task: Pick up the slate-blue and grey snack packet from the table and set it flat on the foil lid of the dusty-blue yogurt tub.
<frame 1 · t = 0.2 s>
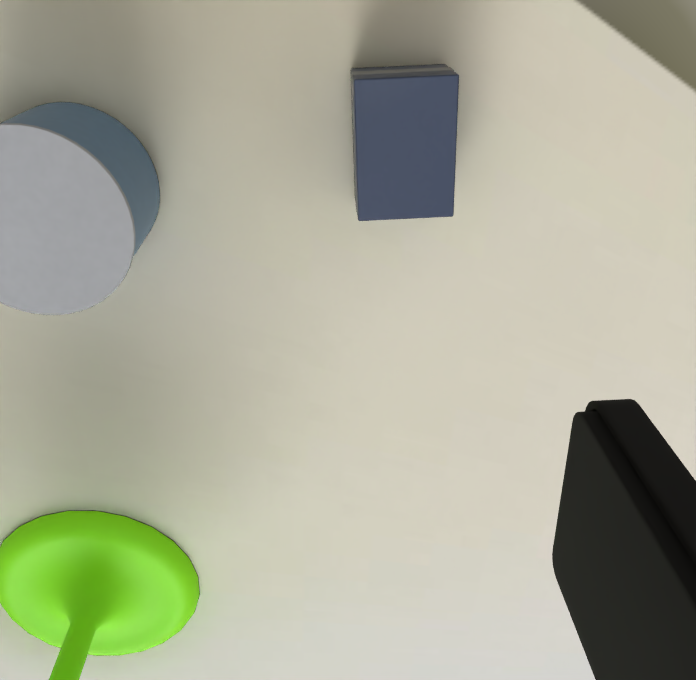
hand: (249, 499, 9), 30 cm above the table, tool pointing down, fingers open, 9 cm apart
yogurt: (78, 185, 37), on the table
packet: (398, 134, 37), on the table
wineglass: (98, 583, 53), on the table
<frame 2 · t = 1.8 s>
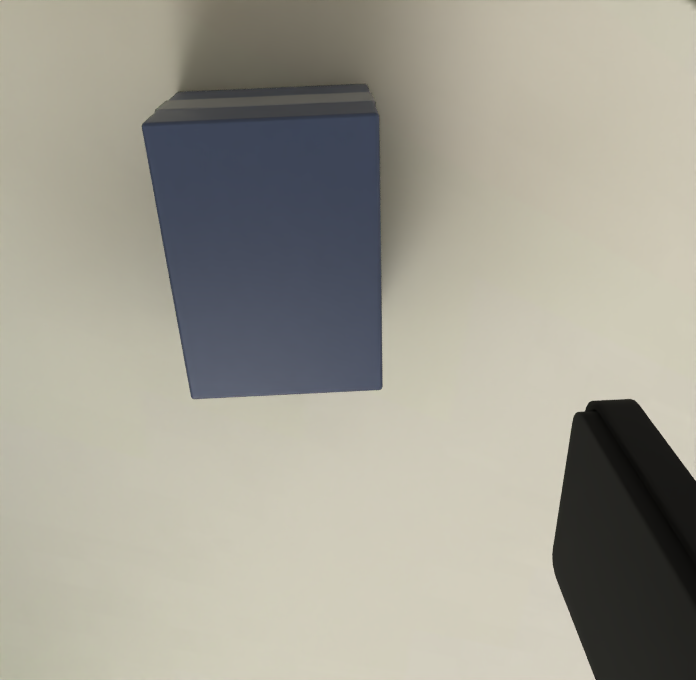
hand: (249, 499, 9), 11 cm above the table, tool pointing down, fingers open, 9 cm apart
packet: (283, 216, 19), on the table
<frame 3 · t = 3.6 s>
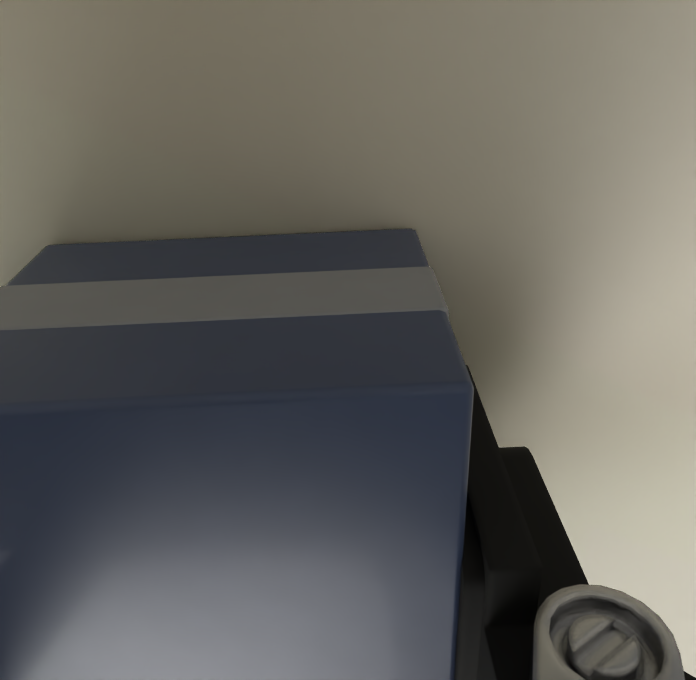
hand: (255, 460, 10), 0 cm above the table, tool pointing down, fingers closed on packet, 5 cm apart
packet: (257, 443, 11), on the table, touching gripper
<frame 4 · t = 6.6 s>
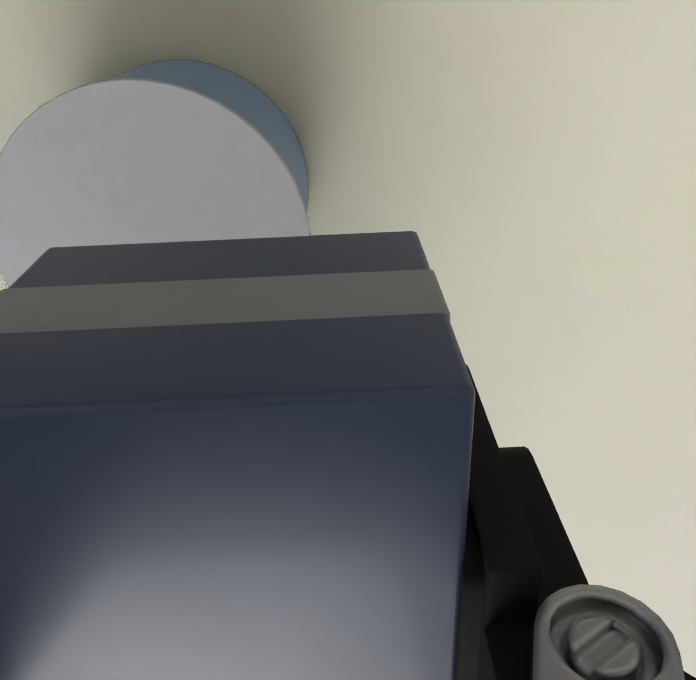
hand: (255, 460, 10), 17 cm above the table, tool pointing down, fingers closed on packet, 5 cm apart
yogurt: (192, 185, 26), on the table
packet: (258, 444, 11), point 17 cm above the table, touching gripper
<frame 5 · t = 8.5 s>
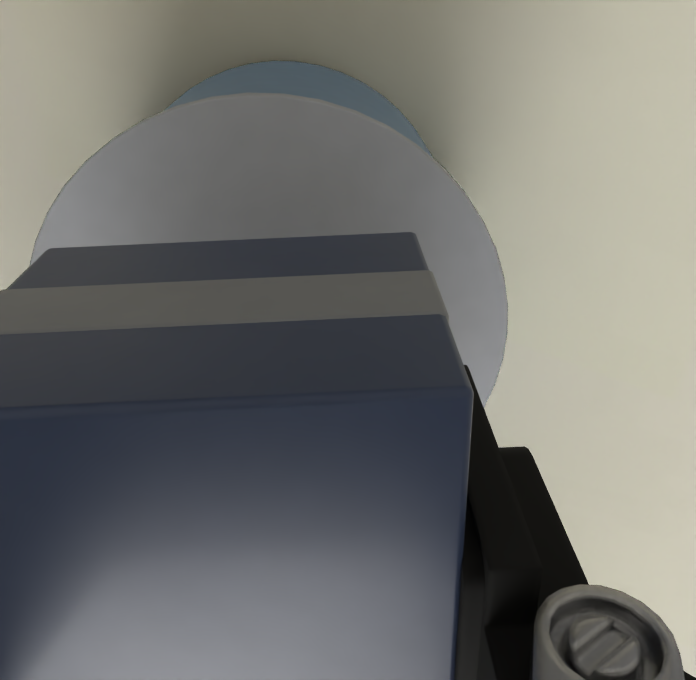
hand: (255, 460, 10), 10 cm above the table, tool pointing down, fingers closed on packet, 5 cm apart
yogurt: (287, 229, 19), on the table
packet: (257, 445, 11), point 10 cm above the table, touching gripper
when the fingers open (7 cm above the table, at t = 9.7 s): packet stays where it is, resting on yogurt.
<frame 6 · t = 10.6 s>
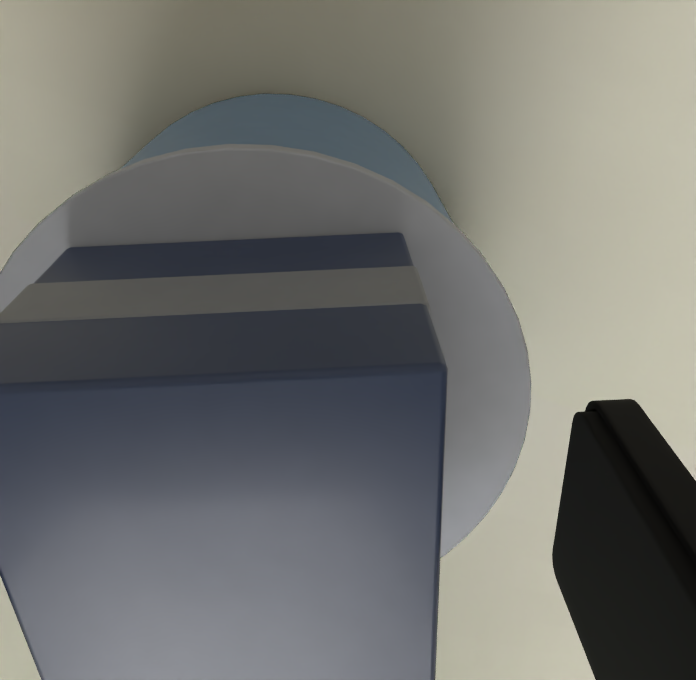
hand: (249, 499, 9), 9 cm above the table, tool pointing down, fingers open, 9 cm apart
yogurt: (280, 274, 17), on the table, touching packet
packet: (258, 430, 12), point 7 cm above the table, touching yogurt
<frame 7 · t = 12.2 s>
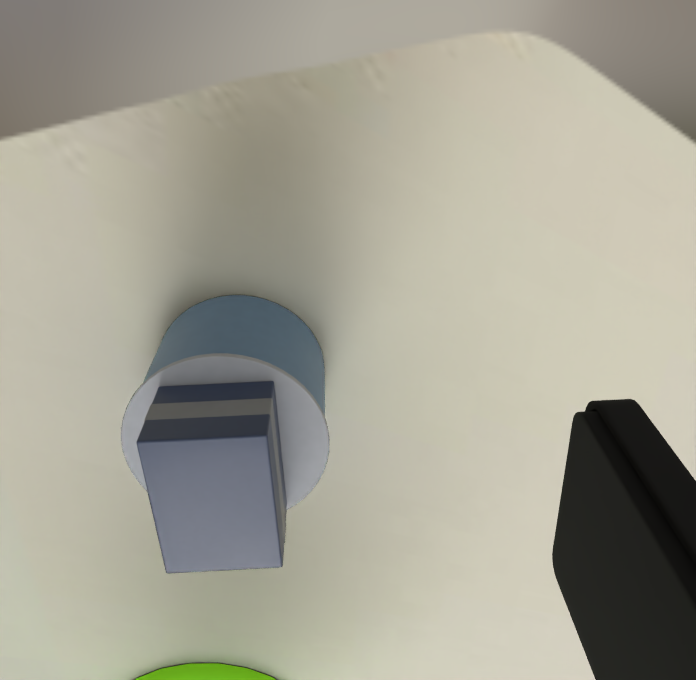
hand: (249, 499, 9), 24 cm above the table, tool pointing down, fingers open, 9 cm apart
yogurt: (242, 369, 36), on the table, touching packet
packet: (226, 448, 30), point 7 cm above the table, touching yogurt
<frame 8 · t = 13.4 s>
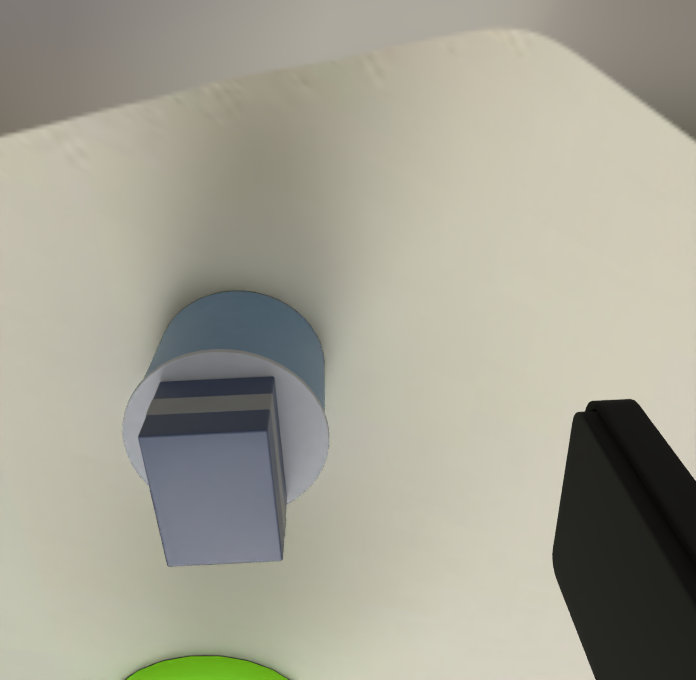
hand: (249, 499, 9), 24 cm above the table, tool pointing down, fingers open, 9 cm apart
yogurt: (242, 365, 37), on the table, touching packet
packet: (226, 442, 31), point 7 cm above the table, touching yogurt
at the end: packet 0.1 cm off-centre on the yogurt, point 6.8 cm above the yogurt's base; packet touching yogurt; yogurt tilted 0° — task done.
